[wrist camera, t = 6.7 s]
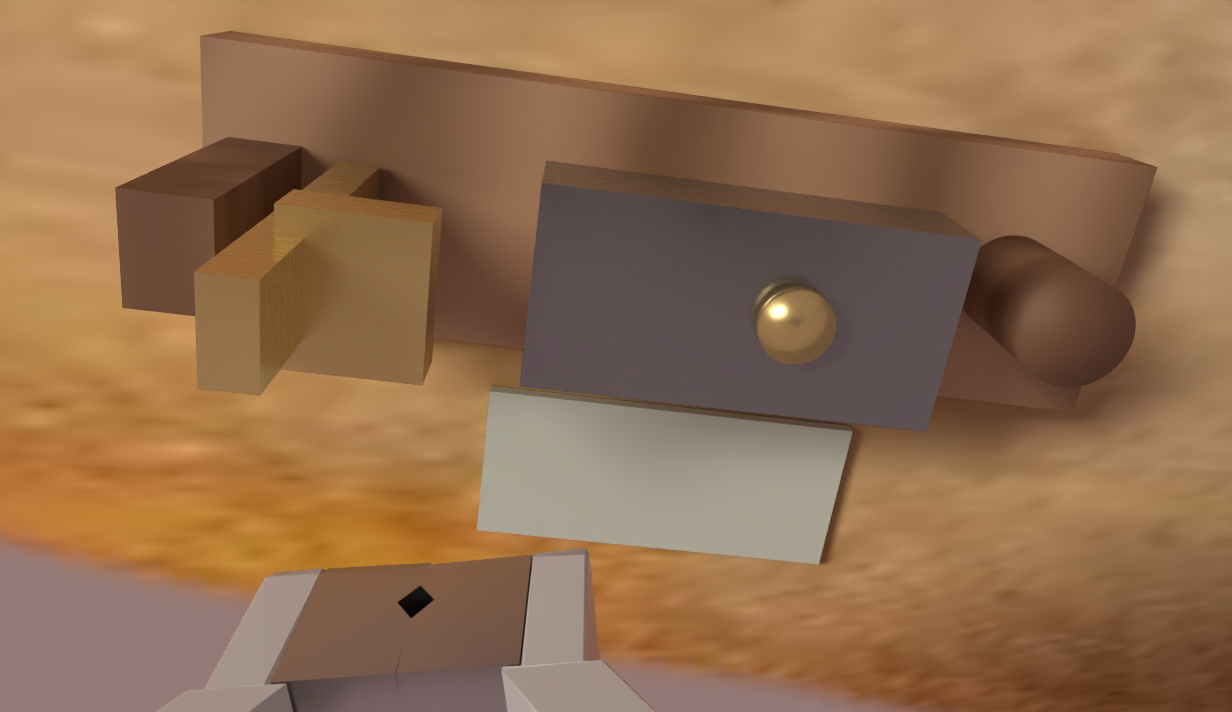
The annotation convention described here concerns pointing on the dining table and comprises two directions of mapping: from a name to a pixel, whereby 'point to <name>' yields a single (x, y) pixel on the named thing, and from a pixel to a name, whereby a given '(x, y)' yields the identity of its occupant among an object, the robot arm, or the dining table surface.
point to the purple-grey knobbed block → (742, 297)
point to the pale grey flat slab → (659, 475)
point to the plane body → (646, 143)
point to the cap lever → (322, 289)
